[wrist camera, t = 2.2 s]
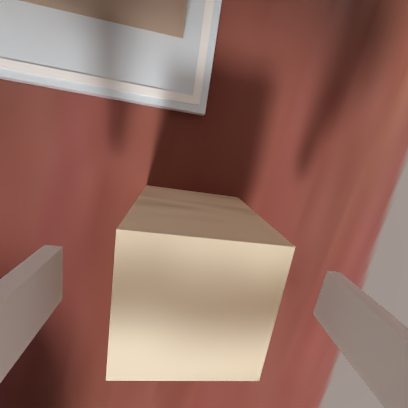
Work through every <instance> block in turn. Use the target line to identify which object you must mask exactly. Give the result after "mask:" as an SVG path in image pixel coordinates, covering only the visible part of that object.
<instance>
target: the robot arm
mask: <svg viewBox="0 0 408 408" xmlns="http://www.w3.org/2000/svg"><path fill="white" fill-rule="evenodd" d="M62 299H63V247H61V246H50V245H44V246H43V247H41V248H40V249H39V250H37V251H36V252H35V253H33V254H32V255H31V256H30V257H28V258H27V259H26V260H24V261H23V262H22V263H21V264H19V265H18V266H17V267H15V268H14V269H13V270H11V271H10V272H9V273H8V274H6V275H5V276H4V277H2V278H1V279H0V383H1V382H2V380H3V379H4V378H5V376H6V375H7V374H8V372H9V371H10V369H11V368H12V367H13V365H14V364H15V363H16V361H17V360H18V359H19V357H20V356H21V355H22V353H23V352H24V350H25V349H26V348H27V346H28V345H29V344H30V342H31V341H32V340H33V338H34V337H35V336H36V334H37V333H38V332H39V330H40V329H41V327H42V326H43V325H44V323H45V322H46V321H47V319H48V318H49V317H50V315H51V314H52V313H53V311H54V310H55V309H56V307H57V306H58V304H59V303H60V302H61V300H62ZM313 315H314V317H315V318H316V319H317V321H318V322H319V323H320V325H321V326H322V327H323V328H324V330H325V331H326V332H327V334H328V335H329V336H330V338H331V339H332V340H333V342H334V343H335V344H336V345H337V347H338V348H339V349H340V351H341V352H342V353H343V355H344V356H345V357H346V358H347V360H348V361H349V362H350V364H351V365H352V366H353V367H354V369H355V370H356V371H357V373H358V374H359V375H360V377H361V378H362V379H363V381H364V382H365V383H366V385H367V386H368V387H369V388H370V390H371V391H372V392H373V393H374V395H375V396H376V397H377V399H378V400H379V401H380V403H381V404H382V405H383V407H384V408H408V328H407V327H406V326H405V325H404V324H403V323H401V322H400V321H399V320H398V319H396V318H395V317H394V316H393V315H392V314H390V313H389V312H388V311H387V310H385V309H384V308H383V307H382V306H381V305H379V304H378V303H377V302H376V301H374V300H373V299H372V298H371V297H370V296H368V295H367V294H366V293H365V292H364V291H362V290H361V289H360V288H359V287H357V286H356V285H355V284H354V283H353V282H351V281H350V280H349V279H348V278H346V277H345V276H344V275H343V274H342V273H340V272H333V271H327V272H326V275H325V278H324V281H323V285H322V288H321V291H320V294H319V297H318V300H317V303H316V306H315V309H314V312H313Z"/></svg>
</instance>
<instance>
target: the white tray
mask: <svg viewBox="0 0 408 408" xmlns="http://www.w3.org/2000/svg"><path fill="white" fill-rule="evenodd" d="M221 3H222V0H0V79H4V80H10V81H15V82H21V83H26V84H32V85H37V86H43V87H48V88H54V89H59V90H64V91H70V92H75V93H81V94H86V95H92V96H97V97H103V98H108V99H114V100H119V101H125V102H130V103H135V104H141V105H146V106H152V107H157V108H163V109H168V110H174V111H179V112H185V113H190V114H196V115H201V116H204V115H205V111H206V104H207V98H208V91H209V84H210V77H211V71H212V64H213V57H214V50H215V44H216V37H217V30H218V23H219V17H220V10H221Z"/></svg>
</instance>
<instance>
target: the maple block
mask: <svg viewBox="0 0 408 408" xmlns="http://www.w3.org/2000/svg"><path fill="white" fill-rule="evenodd" d="M294 250H295V246H293V245H292V244H291V243H290V242H289V241H288V240H287V239H285V238H284V237H283V236H282V235H281V234H280V233H278V232H277V231H276V230H275V229H274V228H273V227H272V226H270V225H269V224H268V223H267V222H266V221H265V220H263V219H262V218H261V217H260V216H259V215H258V214H257V213H255V212H254V211H253V210H252V209H251V208H250V207H248V206H247V205H246V204H245V203H244V202H243V201H242V200H240V199H239V198H238V197H232V196H225V195H217V194H209V193H202V192H194V191H186V190H179V189H171V188H164V187H156V186H148V185H146V187H145V188H144V190H143V191H142V193H141V194H140V196H139V197H138V199H137V200H136V201H135V203H134V204H133V206H132V207H131V209H130V210H129V212H128V213H127V215H126V216H125V217H124V219H123V220H122V222H121V223H120V225H119V226H118V228H117V229H116V242H115V257H114V271H113V285H112V300H111V314H110V328H109V343H108V357H107V372H106V381H259V379H260V375H261V371H262V368H263V364H264V360H265V357H266V353H267V349H268V346H269V342H270V338H271V335H272V331H273V327H274V324H275V320H276V316H277V312H278V309H279V305H280V301H281V298H282V294H283V290H284V287H285V283H286V279H287V276H288V272H289V268H290V265H291V261H292V257H293V254H294Z"/></svg>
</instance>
